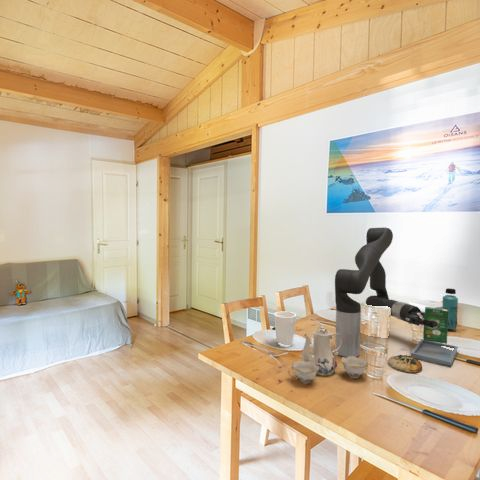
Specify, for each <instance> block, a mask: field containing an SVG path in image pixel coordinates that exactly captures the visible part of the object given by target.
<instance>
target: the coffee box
mask: <svg viewBox="0 0 480 480" xmlns="http://www.w3.org/2000/svg"><path fill="white" fill-rule="evenodd" d="M424 312H425V317H424V319H425V320H429V321H432V322H434V328H431V327H428V326H425V325H423V333H422V335H423V337H422V338H423V340H426V341H432V342H437V343H442V344H447V343H448V330H449V329H448V317H449V311H448V309H442V308H438V307H431V306H425V307H424ZM447 345H448V344H447Z"/></svg>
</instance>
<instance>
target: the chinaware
mask: <svg viewBox="0 0 480 480" xmlns="http://www.w3.org/2000/svg"><path fill="white" fill-rule="evenodd" d="M312 334H313V345H312V348H311V351H310V346H311V338H310V336H309V335H308V334H306V333H304V334H303V336H304V338H305V342H304V346H303V348H302V352H301V359H302V360H297V361H296V362H295V363H292V364H291V366H290V367H289V368H288V370H287V373H288V375H289V376H290V377H295V380H300V383H303V384H304V385H306V384H311V381H312V380H314V379H315V377H316V376H317V375H318V376H330V375H333V374H334V372H335V370H336V369H337V368H338V367H339V366H338V362H337V360H336V358H335V357H337V356H339V355H338V352H337V350H339V349H340V348H341V346H342V343H343V341H342V337H341V336H340V335H339V334H337V333H336V332H334V333H333V332H331V331H330V330H328V329H326V328H325V326H324V324H321V325H320V326H319V328H317V329H315V330H313V331H312ZM336 335H337V336H339V337H340V345H339V347H338V348H337V349H333V350H332V349H331V340H333V339H334V336H336ZM340 361H341V363H342V366H343V369H344V371H345V372H346V373H347V374H348V377H350V378H351V379H358V378H359V377H360V376H362V375H363V374H364V372H365V371H366V370H367V369H368V363H367V360H366V359H365V358H358V357H355V356H348V357H344V356H341V359H340ZM290 369H292V370H294V372H295V375H292V374H291V373H290Z"/></svg>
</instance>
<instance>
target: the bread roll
mask: <svg viewBox="0 0 480 480" xmlns="http://www.w3.org/2000/svg"><path fill="white" fill-rule="evenodd" d="M387 363H388V366H389V367H391V368H392V369H394V370H396V371H399V372H406V373H408V374H417V373H420V372H421V371H422V370H423V364H422V361H420V360H417V358H416V357H412V356H411V354H409V355H407V354H397V355H394V356H391V357H389V358H388V359H387Z"/></svg>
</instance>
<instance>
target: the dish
mask: <svg viewBox="0 0 480 480" xmlns="http://www.w3.org/2000/svg"><path fill="white" fill-rule="evenodd" d="M441 346H446V347H450V348H454V350H453V351H452V350H449V349H446V348H443V347H441ZM457 349H459V347H458V346H457V345H453V344H452V345H451V344H446V343H439V342H433V341H426V340H423V339H420V340H419V342H418V343H417V344H416V345H415V347H414V348H413V350H411V352H410V355H411V356H412V357H416V358H417V360H419V361H420V362H425V363H430V364H434V365H438V366H443V367H446V368H450V369H451V367H452V366H453V363H454V362H455V358H456V356H457V354H458V352H457Z"/></svg>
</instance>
